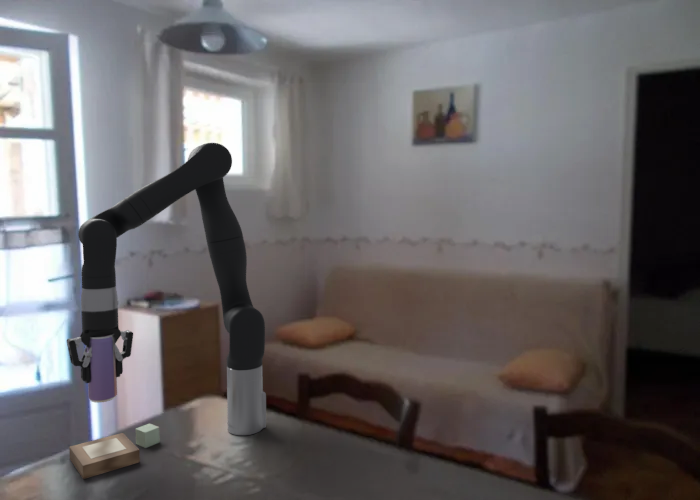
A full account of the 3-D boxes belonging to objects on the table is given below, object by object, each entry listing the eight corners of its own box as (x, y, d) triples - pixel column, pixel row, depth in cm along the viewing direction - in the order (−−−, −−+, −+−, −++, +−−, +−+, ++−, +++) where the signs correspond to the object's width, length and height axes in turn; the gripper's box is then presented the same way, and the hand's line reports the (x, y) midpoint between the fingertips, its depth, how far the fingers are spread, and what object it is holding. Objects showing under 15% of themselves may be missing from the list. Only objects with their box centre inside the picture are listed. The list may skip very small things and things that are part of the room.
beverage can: (106, 404, 119) (103, 338, 117) (82, 402, 120) (80, 336, 119) (122, 394, 124) (120, 332, 123) (100, 393, 126) (97, 330, 124)
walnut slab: (123, 444, 132) (122, 432, 131) (139, 462, 123) (139, 449, 122) (69, 459, 124) (69, 446, 124) (83, 479, 115) (82, 465, 115)
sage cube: (149, 438, 135) (149, 423, 135) (159, 442, 133) (159, 427, 133) (135, 444, 132) (135, 428, 132) (145, 448, 130) (145, 432, 130)
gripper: (127, 301, 128) (129, 369, 129) (60, 308, 119) (63, 381, 120) (137, 305, 122) (139, 377, 124) (68, 313, 113) (71, 390, 114)
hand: (102, 379), depth 122 cm, fingers closed on beverage can, 6 cm apart
